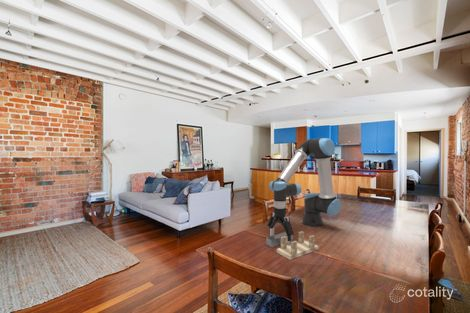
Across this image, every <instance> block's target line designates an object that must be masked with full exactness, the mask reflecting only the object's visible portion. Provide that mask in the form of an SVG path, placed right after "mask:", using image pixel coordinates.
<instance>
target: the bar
mask: <svg viewBox="0 0 470 313" xmlns="http://www.w3.org/2000/svg"><path fill="white" fill-rule="evenodd" d="M286 235H287V234H286V232H285V231H284V232H280V233H277V234H274V236H270V235H269V236H267V237H265V244H266V246H268V247H270V248H273V247H276V246H281V237H284V236H285V237H286ZM292 241H294V235H291V241H290V242H292Z"/></svg>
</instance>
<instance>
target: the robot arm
mask: <svg viewBox="0 0 470 313" xmlns="http://www.w3.org/2000/svg"><path fill="white" fill-rule="evenodd" d="M335 150H336V147H335V144H334V142H333V140H332V139H331V138H328V137H327V138H326V137H325V138H324V137H319V138H309V139H307V140H305V141H304V142H302V143H301V144H300V145H299V146H298V147H297V148H296V149H295V154H293V156H292V157H291V159H290V161H289V162H288V163H287V164H286V166H284V168H283V170H282V171H281V173H280V174H279V175H278V176H277V178H276V179H275V180H272V181H270V182H269V185H268V189H269V190H270V191H271V192H272V193H273V212H270V218H269V220H268V222H267V227H269V234H270V235H269V237H270V236H274V235H275V225H277V223H279V224H281V226H282V228H283V230H284V232H286V234H287V235H286V237H287V245H290V244H291V242H292V241H291V235H293V236H294V235H295V233H294V231H293V230H294V229H293V228H292V225H291V221H290V220H291V218H290V217H286V214H287V197H294V196H295V197H296V196H299V195H300V194H301V193H302V186H301V185H300V184H299V183H298V182H297V183H295V182H294V183H289V182H290V181H291V179H292V178H293V176H294V175H295V173H296V171H298V170H299V167H300V166H301V165H302V164H303V162H304V161H305V160H307V158H309V157H310V156H313V159H314V160H315V161H316V165H317V166H316V167H317V175H318V185H319V191H320V192H309V193H305V194H304V201H303V202H304V206H303V207H304V213H303V217H302V219H301V222H302V224H303V225H306V226H307V227H308V226H310V227H321V226H323V225H324V220H323V218H322V214H327V215H330V216H335V215H337V214H338V213H339V212H340V210H341V207H342V202H341V200H340V199H338V198H337V194H336V193H334V185H333V176H332V169H331V159H332V157H333V155H334V154H335ZM321 213H322V214H321Z"/></svg>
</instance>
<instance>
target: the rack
mask: <svg viewBox="0 0 470 313" xmlns="http://www.w3.org/2000/svg"><path fill="white" fill-rule="evenodd" d="M297 233H298V236H297V237H298V240H293V241H290V245H287V237H285V236H284V237H281V244H280V247H279V248H276V253H277V254H279V255H280V256H282V257H284V258H286V259H288V260H289V261H292V260H293V259H296V258H299V257H302V256H305V255H308V254H310V253H312V252H315V251H317V250H319V246H318V245H317V244H316V243H315V242H316V241H315V239H316V238H315V235H313V234H312V235H308V240H305V232H304V231H302V230H301V231H298V232H297Z"/></svg>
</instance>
